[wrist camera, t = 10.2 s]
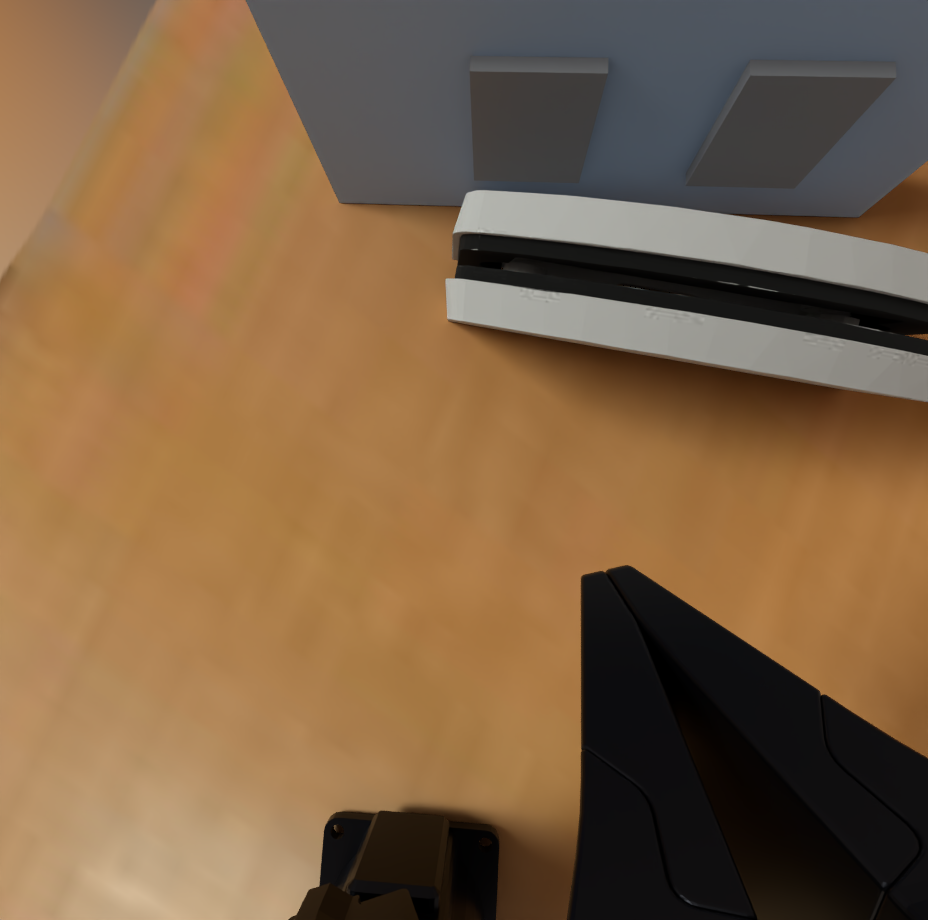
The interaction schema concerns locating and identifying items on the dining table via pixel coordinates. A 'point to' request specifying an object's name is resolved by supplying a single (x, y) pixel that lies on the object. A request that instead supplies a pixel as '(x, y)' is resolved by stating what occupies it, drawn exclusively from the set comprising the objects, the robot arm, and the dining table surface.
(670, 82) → the cabinet side panel
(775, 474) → the dining table surface
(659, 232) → the white black-striped curved device
